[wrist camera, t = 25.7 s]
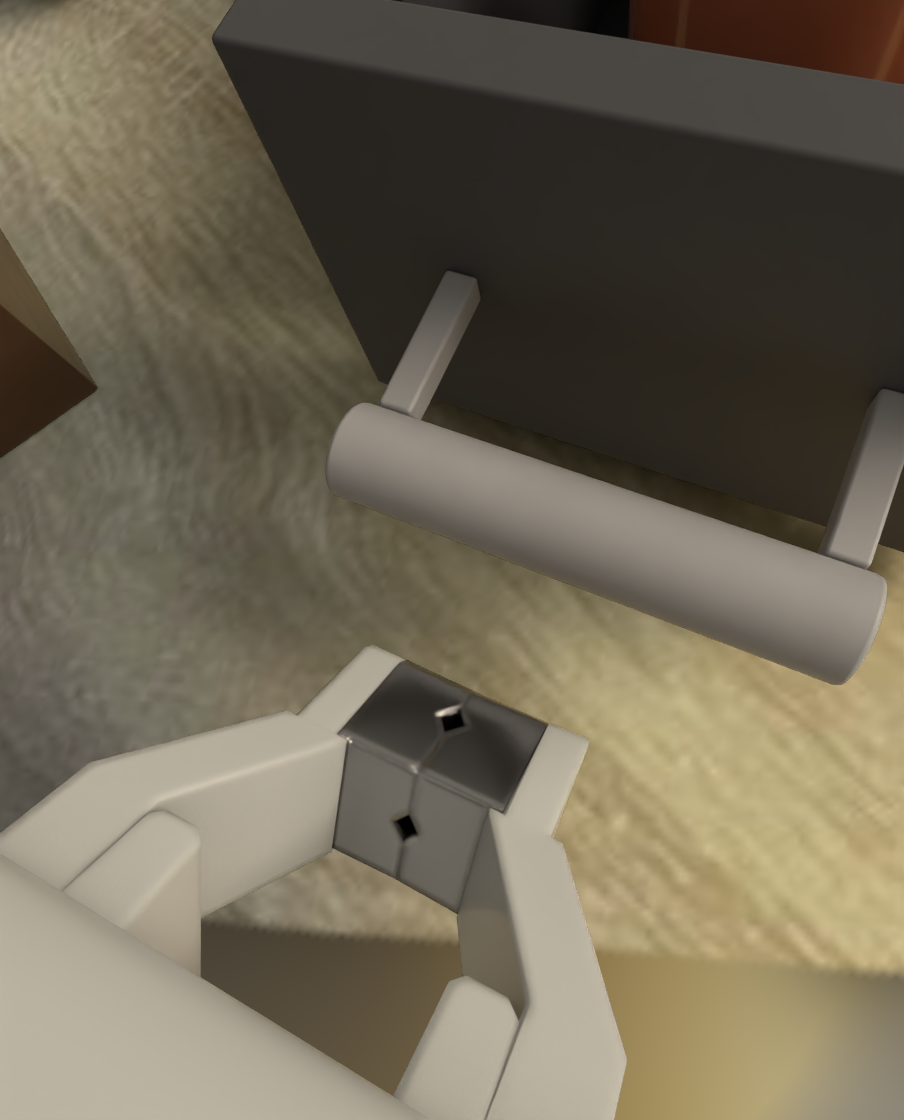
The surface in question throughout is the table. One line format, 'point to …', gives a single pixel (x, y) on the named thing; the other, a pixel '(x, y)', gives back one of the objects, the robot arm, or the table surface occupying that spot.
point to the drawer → (606, 295)
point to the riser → (32, 358)
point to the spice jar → (783, 32)
